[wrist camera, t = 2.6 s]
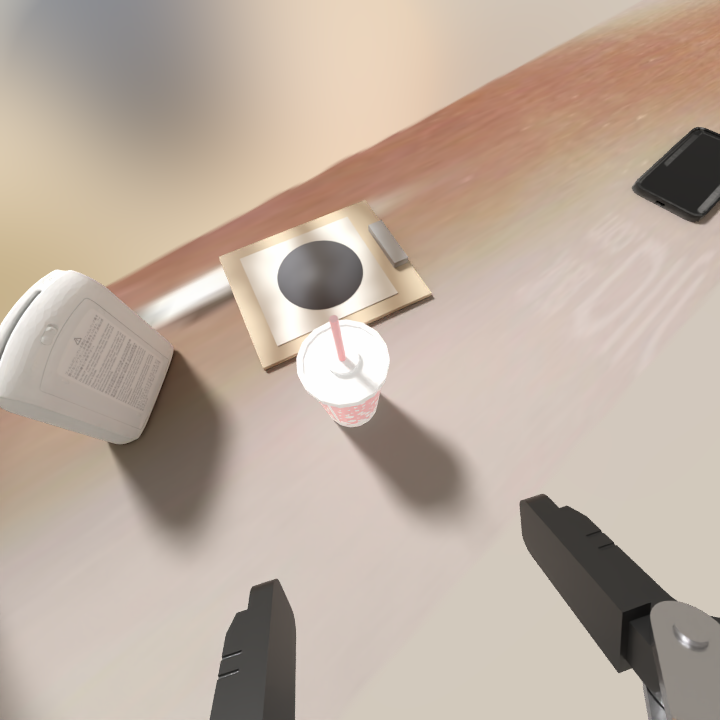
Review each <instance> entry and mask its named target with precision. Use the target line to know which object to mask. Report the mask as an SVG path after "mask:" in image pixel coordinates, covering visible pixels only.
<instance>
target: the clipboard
mask: <svg viewBox="0 0 720 720" xmlns="http://www.w3.org/2000/svg"><path fill="white" fill-rule="evenodd" d="M219 259H220V262H221V264H222V267H223V269H224V272H225V274H226V277H227V279H228V282H229V284H230V287H231V289H232V292H233V294H234V297H235V299H236V302H237V304H238V307H239V309H240V312H241V314H242V317H243V319H244V322H245V324H246V327H247V329H248V332H249V334H250V337H251V339H252V342H253V344H254V347H255V349H256V352H257V354H258V357H259V359H260V362H261V364H262V367H263V369H264V370H267V369H269V368H271V367H273V366H276V365H278V364H280V363H282V362H284V361H287V360H289V359H291V358H293V357H296V356H297V355H298V352H299V350H300V347H301V344H302V342H303V341H304V340H305V339H306V338H307V337H308V335H309V334H310V333H311V332H312V331H313V330H314V329H316V328H318V327H320V326H322V325H324V324H326V323H328V322H330V321H329V317H330V316H332V315H336V316H337V317H338V320H345V319H347V320H352V321H357V322H362V323H364V324H366V325H367V324H369V323H371V322H374V321H376V320H378V319H380V318H382V317H385V316H387V315H389V314H391V313H394V312H396V311H398V310H400V309H402V308H405V307H407V306H409V305H411V304H414V303H416V302H418V301H420V300H423V299H425V298H427V297H429V296H431V291H430V290H429V289H428V287H427V286H426V284H425V283H424V282H423V280H422V279H421V278H420V276H419V275H418V273H417V272H416V271H415V269H414V268H413V266H412V265H411V264H410V262H409V261H408V256H407V255H406V254H405V252H404V251H403V249H402V248H401V247H400V245H399V244H398V242H397V241H396V240H395V238H394V237H393V235H392V234H391V233H390V231H389V230H388V229H387V227H386V226H385V224H384V223H383V222H382V220H379V219H378V217H377V216H376V215H375V213H374V212H373V210H372V209H371V208H370V206H369V205H368V204H367V202H366V201H365V200H364V201H361V202H359V203H356V204H354V205H351V206H348V207H346V208H343V209H341V210H338V211H336V212H333V213H330V214H328V215H325V216H323V217H320V218H318V219H315V220H312V221H310V222H307V223H305V224H302V225H300V226H297V227H294V228H292V229H289V230H287V231H284V232H282V233H279V234H276V235H274V236H271V237H269V238H266V239H264V240H261V241H258V242H256V243H253V244H251V245H248V246H246V247H243V248H240V249H238V250H235V251H233V252H230V253H228V254H225V255H222V256H220V257H219Z"/></svg>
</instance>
